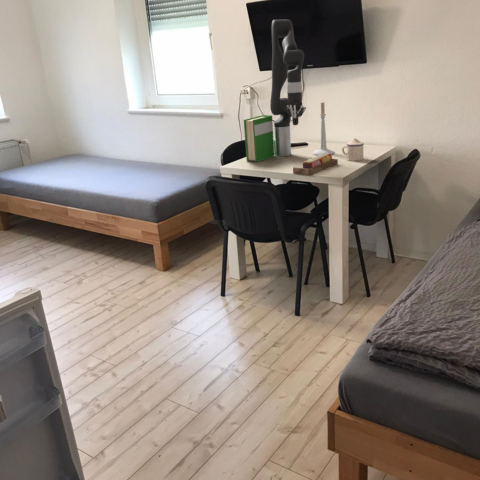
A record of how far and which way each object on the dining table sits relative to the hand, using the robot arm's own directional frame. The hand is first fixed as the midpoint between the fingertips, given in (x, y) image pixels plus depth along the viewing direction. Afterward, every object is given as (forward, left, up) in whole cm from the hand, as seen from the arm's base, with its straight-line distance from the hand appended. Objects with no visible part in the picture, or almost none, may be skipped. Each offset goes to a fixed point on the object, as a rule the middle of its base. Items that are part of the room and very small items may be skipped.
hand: (295, 124), depth 274 cm
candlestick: (-5, +33, -22) cm, 40 cm away
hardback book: (-32, +7, -22) cm, 40 cm away
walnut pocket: (+13, -1, -22) cm, 26 cm away
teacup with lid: (+19, +26, -22) cm, 39 cm away
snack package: (+13, 0, -23) cm, 26 cm away
